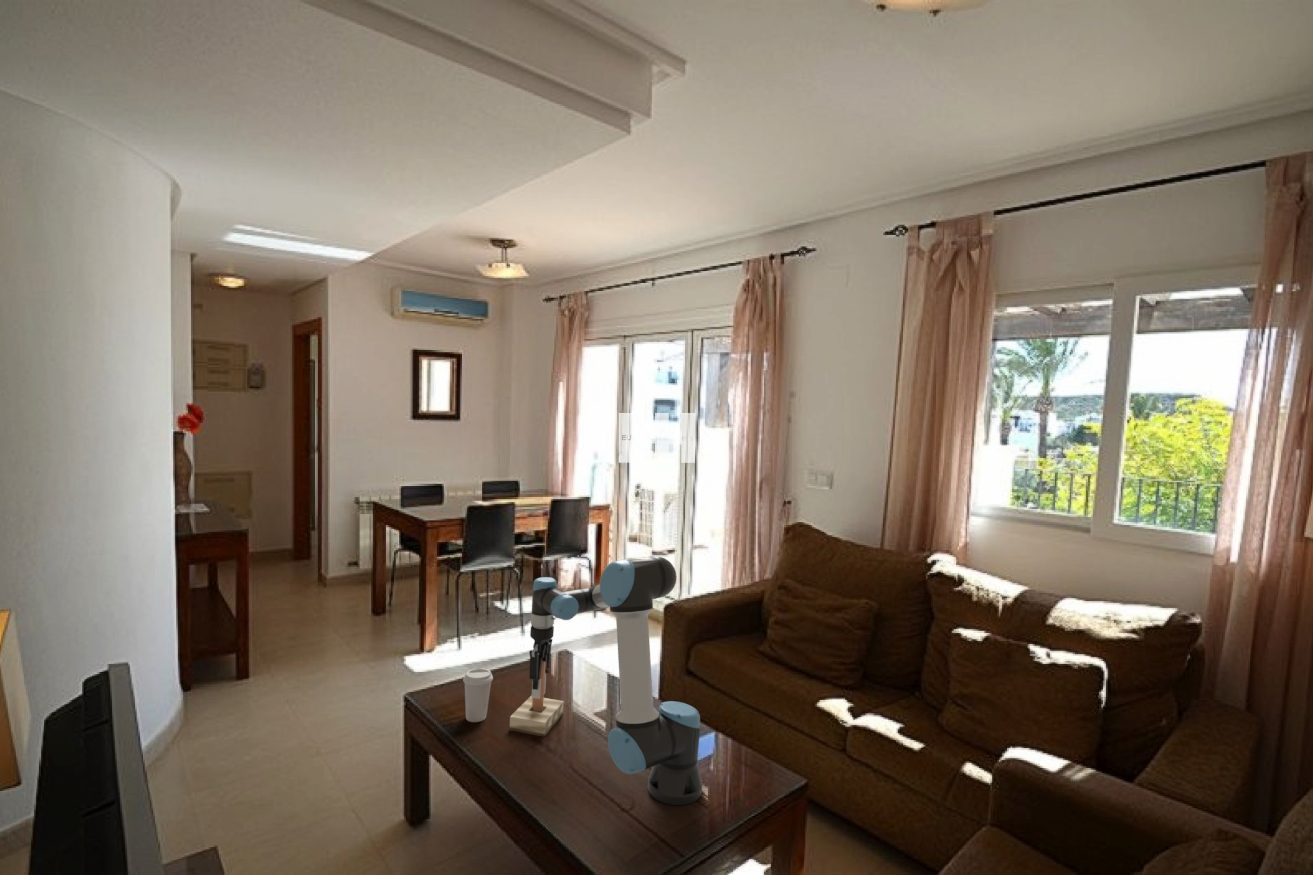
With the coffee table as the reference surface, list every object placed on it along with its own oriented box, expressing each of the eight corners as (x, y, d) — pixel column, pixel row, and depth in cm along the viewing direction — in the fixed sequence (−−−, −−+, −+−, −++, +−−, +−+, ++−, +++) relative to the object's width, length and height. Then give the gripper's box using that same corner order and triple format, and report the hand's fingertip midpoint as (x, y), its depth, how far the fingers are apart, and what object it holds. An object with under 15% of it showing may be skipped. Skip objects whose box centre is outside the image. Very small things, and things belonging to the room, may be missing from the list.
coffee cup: (495, 712, 212) (497, 668, 212) (484, 725, 203) (487, 680, 202) (467, 709, 213) (470, 665, 213) (456, 722, 204) (458, 677, 203)
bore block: (544, 736, 198) (545, 722, 198) (509, 730, 201) (510, 716, 201) (563, 714, 214) (563, 701, 214) (530, 708, 216) (531, 695, 216)
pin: (540, 710, 205) (543, 664, 205) (530, 708, 206) (532, 663, 205) (544, 705, 209) (547, 660, 208) (534, 703, 209) (537, 659, 209)
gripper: (542, 635, 197) (538, 708, 198) (562, 619, 213) (558, 686, 214) (520, 631, 199) (516, 704, 200) (542, 616, 215) (538, 683, 216)
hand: (538, 695), depth 207 cm, fingers closed on pin, 3 cm apart
